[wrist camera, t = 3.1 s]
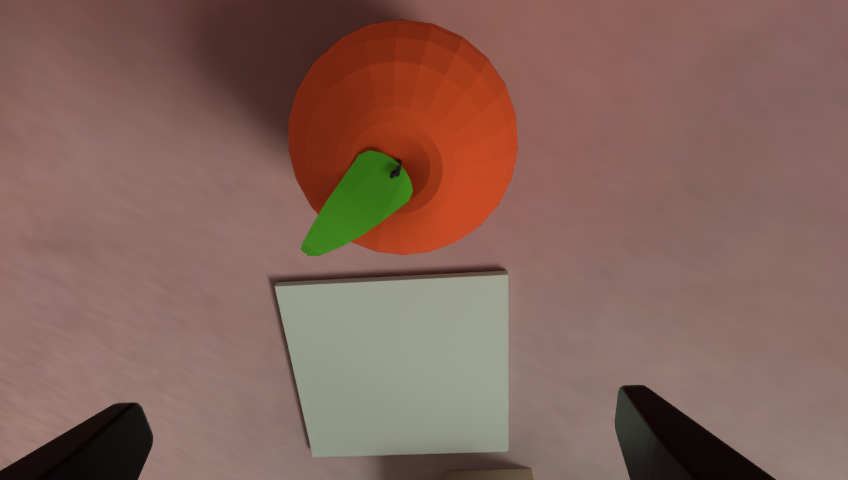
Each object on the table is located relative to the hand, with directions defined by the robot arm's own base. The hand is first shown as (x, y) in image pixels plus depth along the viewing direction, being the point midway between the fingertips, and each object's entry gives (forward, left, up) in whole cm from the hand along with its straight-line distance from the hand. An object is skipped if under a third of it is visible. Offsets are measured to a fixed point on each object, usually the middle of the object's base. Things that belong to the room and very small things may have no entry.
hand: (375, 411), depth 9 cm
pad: (-1, -8, -11) cm, 14 cm away
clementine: (0, +3, -11) cm, 12 cm away
